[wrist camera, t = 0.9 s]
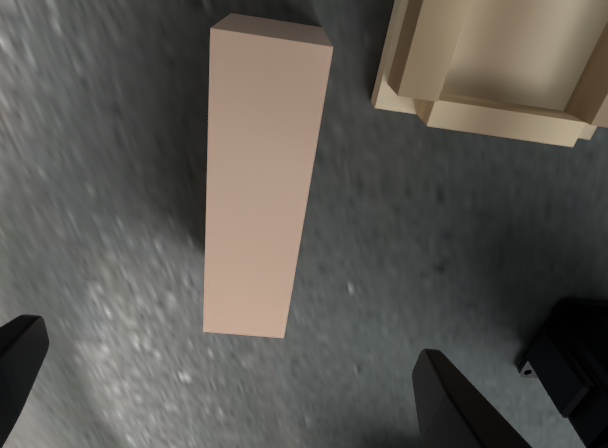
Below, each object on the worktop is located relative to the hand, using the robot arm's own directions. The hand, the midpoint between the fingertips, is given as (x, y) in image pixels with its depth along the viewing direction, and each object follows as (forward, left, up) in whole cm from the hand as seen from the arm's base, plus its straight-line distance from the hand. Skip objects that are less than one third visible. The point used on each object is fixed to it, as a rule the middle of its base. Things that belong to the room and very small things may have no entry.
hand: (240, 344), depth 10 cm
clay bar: (0, 0, -11) cm, 11 cm away
